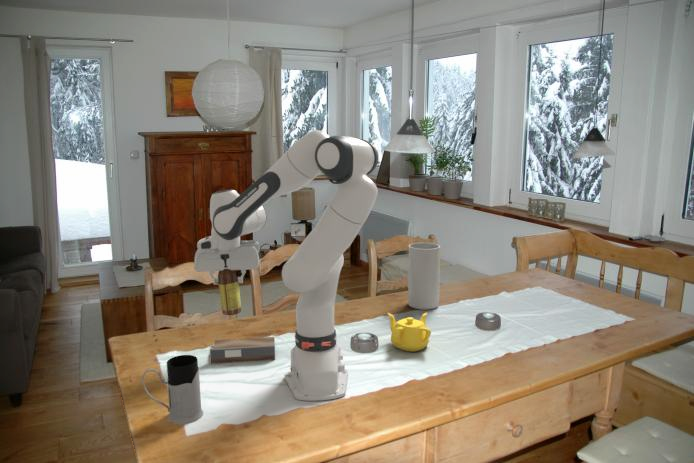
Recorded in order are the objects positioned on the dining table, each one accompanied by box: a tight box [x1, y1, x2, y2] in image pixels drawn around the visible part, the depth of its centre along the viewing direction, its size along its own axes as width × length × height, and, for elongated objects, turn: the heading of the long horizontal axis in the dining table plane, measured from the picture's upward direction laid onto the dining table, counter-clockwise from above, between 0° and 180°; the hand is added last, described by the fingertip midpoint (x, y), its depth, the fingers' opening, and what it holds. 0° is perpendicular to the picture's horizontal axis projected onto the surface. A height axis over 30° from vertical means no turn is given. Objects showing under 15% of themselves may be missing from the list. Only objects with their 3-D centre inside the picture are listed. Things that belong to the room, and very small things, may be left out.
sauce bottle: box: [217, 254, 242, 316], centre depth 180 cm, size 6×6×20 cm
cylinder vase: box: [407, 242, 441, 311], centre depth 229 cm, size 12×12×25 cm
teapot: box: [387, 312, 432, 353], centre depth 189 cm, size 14×13×10 cm
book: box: [210, 336, 276, 365], centre depth 186 cm, size 16×20×2 cm
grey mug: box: [141, 354, 204, 425], centre depth 143 cm, size 9×14×15 cm, turn 106°
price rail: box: [209, 345, 276, 360], centre depth 178 cm, size 2×20×3 cm, turn 98°
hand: (228, 283), depth 180 cm, fingers closed on sauce bottle, 6 cm apart
